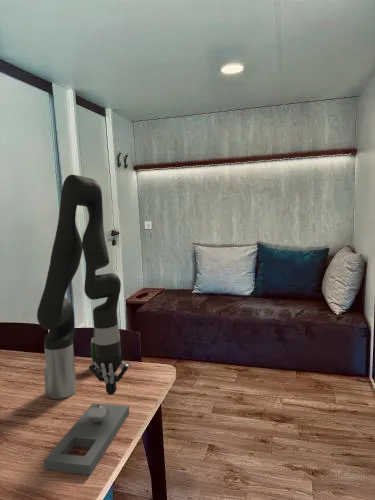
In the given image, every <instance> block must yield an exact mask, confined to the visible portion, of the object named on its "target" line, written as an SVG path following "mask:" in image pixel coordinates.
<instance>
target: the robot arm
mask: <svg viewBox="0 0 375 500" xmlns="http://www.w3.org/2000/svg"><path fill="white" fill-rule="evenodd" d="M79 206H80V207H86V210H87V213H88V222H87V224H86V228H85V230H84V233H83V236H81V235H80V233H79V229H78V226H77V223H76V214H77V207H79ZM103 207H104V206H103V192H102V187H101V184H100V183H99V182H98V180H97V179H94V178H92V177H91V178H90V177H87V176H82V175H77V174H69V175H67V176H66V177H65V179H64V181H63V184H62V188H61V195H60V204H59V212H58V219H57V220H58V221H57V227H56V231H55V232H56V233H55V235H54V236H55V237H54V240H53V245H52V248H51V249H52V250H51V254H50V261H49V266H48V271H47V275H46V280H45V285H44V289H43V292H42V295H41V298H40V301H39V303H38V308H37V311H36V312H37V313H36V319H37V322H38V324H39V326H40V327H41V328H42V329H44V330H47V331H48V333H47V334H46V335H45V337H44V339H43V347H44V357H45V358H44V359H45V368H44V369H43V378H44V380H43V381H44V388H45V390H44V391H45V396H47V397H49V398H50V399H54V400H61V399H65V398H68V397H71V396H72V395H74V394H75V393H76V391H77V383H76V382H77V381H76V379H77V378H76V369H75V354H74V352H75V351H74V342H73V341H74V336H75V312H74V311H75V310H74V307H73V304H72V303H71V301H70V300H69V299H68V298H66V292H67V291H68V288H69V286H70V284H71V283H72V281H73V279H74V277H75V275H76V273H77V272H78V269H79V266H80V263H81V260H82V254H83V255H84V261H85V277H84V286H83V287H84V295H85V296H86V297H87V298H88V299H90V300H92V301H94V300H99V299H106V300H105V302H103V303H101V304H99V305H97V306H95V307H94V308H93V311H92V319H93V337H94V341H95V353H96V359H95V362H94V363H92V362H91V364H90V365H89V366H88V369H89V370H90V372H91V373H92V374H93V375H94V377H96V378H97V380H98V381H99V382H104V383H105V391H106V393H107V395H109V396H113V395H114V394H115V393H116V392H117V383H119V382H120V380H121V379H122V377H123V376H124V375H125V373H126V372H127V370H128V369H129V368H130V367H131V364H130V362H129V363H127V362H125V361H124V359H123V357H122V349H121V348H122V347H121V334H120V328H119V324H118V304H119V299H120V295H121V294H120V293H121V288H122V283H121V282H122V281H121V279H120V277H119V276H118V275H117V274H116V273H114V272H113V273H112V272H111V273H110V272H109V273H103V274H96V271H98V270H100V269H103V268H105V267H107V266H108V265H109V264H110V257H109V252H108V251H109V250H108V246H107V243H106V237H105V230H104V229H105V228H104V209H103ZM81 237H82V238H81ZM119 368H120V370H121V371H120V372H119V374H118V375H117V372H118V369H119Z"/></svg>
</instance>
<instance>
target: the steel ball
mask: <svg viewBox="0 0 375 500" xmlns="http://www.w3.org/2000/svg"><path fill="white" fill-rule="evenodd" d="M102 404H103V403H98V404H95V405H93V406H92V407H91V408H90V409H89V412H88V416H89V419H90V420H91V421H92V422H94V423H99V422H101V421H103V420H104V418H105V416H106V408H105V407H104V406H103V405H102Z"/></svg>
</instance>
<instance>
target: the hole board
mask: <svg viewBox="0 0 375 500" xmlns="http://www.w3.org/2000/svg"><path fill="white" fill-rule="evenodd" d="M95 404H99V403H98V402H97V403H96V402H92V403H91V404H90V406H89V407H87V409H86V410H85V412H84V413H83V414H82V415H81V417H79V419H78V420H77V421H76V422H75V423H74V424H73V426H71V428H70V430H69V431H68V432H67V433H66V434H65V435H64V437H62V439H61V440H60V441H58V443H57V445H56V446H55V447H54V448H53V449H52V451H50V452H49V454H48V455H47V456H46V458H44V460H43V463H44V470H45V471H46V470H47V471H51V472H52V471H54V472H61V473H70V474H76V475H84V476H91V475H92V473H93V472H94V470H95V469H96V468H97V465H98V464H99V463H100V462H101V460H102V458H103V456H104V454H105V453H106V451H107V450H108V448H109V447H110V445H111V444H112V442H113V441H114V438H115V437H116V436H117V434H118V432H119V431H120V429H121V428H122V426H123V425H124V423H125V422H126V421H127V418H128V417H129V415H130V406H129V405H122V404H121V405H120V404H109V403H101V404H102V405H103V406H104V407H105V408H106V416H105V418H104V420H103V421H101V422H99V423H94V422H92V421H91V420H90V419H89V416H88V412H89V409H90V408H91V407H92V406H93V405H95ZM74 447H80V448H88V449H89V450H88V451H87V452H86V453H85V455H84V456H83V455H74V454H70V453H71V451H72V450H73V448H74Z"/></svg>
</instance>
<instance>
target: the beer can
mask: <svg viewBox="0 0 375 500" xmlns="http://www.w3.org/2000/svg"><path fill="white" fill-rule="evenodd" d="M90 349H91V350H90V351H91V364H92V363H94V362H95V359H96V353H95V341H94V336H93V337H91V341H90Z"/></svg>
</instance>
